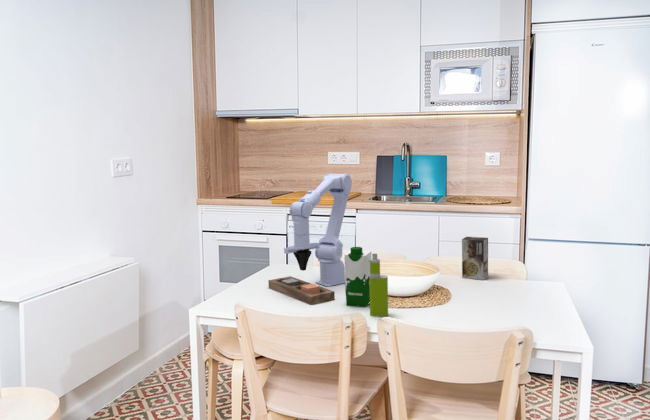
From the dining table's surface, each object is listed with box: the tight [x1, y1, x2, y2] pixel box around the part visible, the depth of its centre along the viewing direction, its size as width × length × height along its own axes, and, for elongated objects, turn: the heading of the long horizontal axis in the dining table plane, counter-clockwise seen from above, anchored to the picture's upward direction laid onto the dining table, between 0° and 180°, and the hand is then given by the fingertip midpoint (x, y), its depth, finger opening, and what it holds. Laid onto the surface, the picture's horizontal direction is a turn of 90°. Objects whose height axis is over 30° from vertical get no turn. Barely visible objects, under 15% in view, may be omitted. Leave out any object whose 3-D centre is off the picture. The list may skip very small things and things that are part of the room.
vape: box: [369, 253, 389, 317], centre depth 182 cm, size 4×6×20 cm, turn 81°
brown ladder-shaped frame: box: [268, 276, 336, 306], centre depth 210 cm, size 10×30×3 cm, turn 35°
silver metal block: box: [281, 279, 299, 286], centre depth 216 cm, size 5×5×3 cm
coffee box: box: [461, 236, 489, 281], centre depth 226 cm, size 9×6×16 cm
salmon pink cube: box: [301, 283, 321, 294], centre depth 204 cm, size 5×5×3 cm
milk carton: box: [344, 246, 372, 308], centre depth 195 cm, size 9×9×20 cm
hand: (302, 269), depth 210 cm, fingers closed
